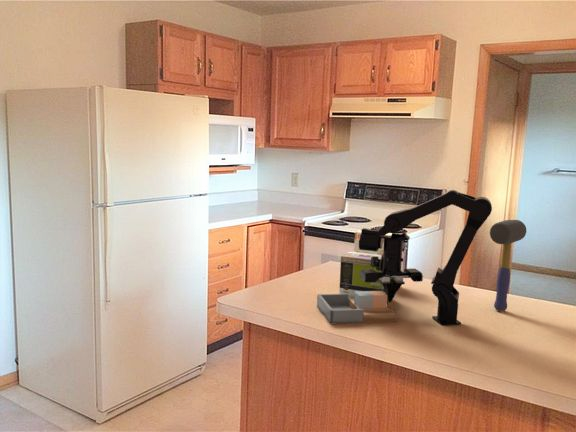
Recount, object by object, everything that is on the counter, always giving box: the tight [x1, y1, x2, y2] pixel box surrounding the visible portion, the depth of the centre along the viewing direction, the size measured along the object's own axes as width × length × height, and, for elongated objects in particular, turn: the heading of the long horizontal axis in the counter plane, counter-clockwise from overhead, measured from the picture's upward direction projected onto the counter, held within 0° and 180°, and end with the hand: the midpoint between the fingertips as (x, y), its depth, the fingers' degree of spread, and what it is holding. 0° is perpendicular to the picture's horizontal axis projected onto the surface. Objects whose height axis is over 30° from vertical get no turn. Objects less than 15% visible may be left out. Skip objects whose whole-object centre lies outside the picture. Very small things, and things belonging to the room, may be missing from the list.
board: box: [348, 298, 397, 324], centre depth 166 cm, size 16×10×2 cm, turn 11°
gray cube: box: [354, 291, 373, 308], centre depth 165 cm, size 4×4×4 cm
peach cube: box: [369, 291, 388, 308], centre depth 166 cm, size 4×4×4 cm
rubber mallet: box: [489, 219, 527, 313], centre depth 172 cm, size 12×8×30 cm, turn 133°
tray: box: [316, 293, 364, 325], centre depth 164 cm, size 16×10×4 cm, turn 11°
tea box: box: [338, 251, 386, 298], centre depth 182 cm, size 15×10×15 cm, turn 65°
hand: (389, 301), depth 167 cm, fingers closed
